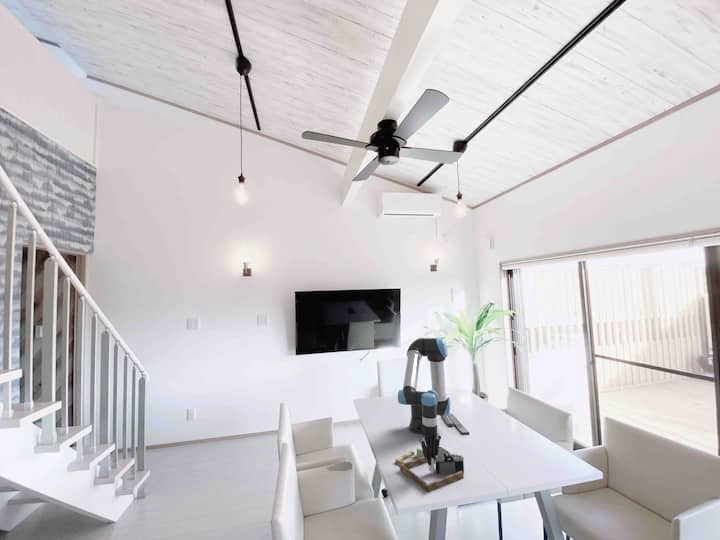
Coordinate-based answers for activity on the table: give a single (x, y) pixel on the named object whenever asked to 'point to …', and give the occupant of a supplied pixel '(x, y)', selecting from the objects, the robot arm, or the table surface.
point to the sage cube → (420, 452)
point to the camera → (449, 463)
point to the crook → (404, 458)
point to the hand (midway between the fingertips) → (431, 470)
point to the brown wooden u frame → (424, 485)
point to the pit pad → (441, 450)
